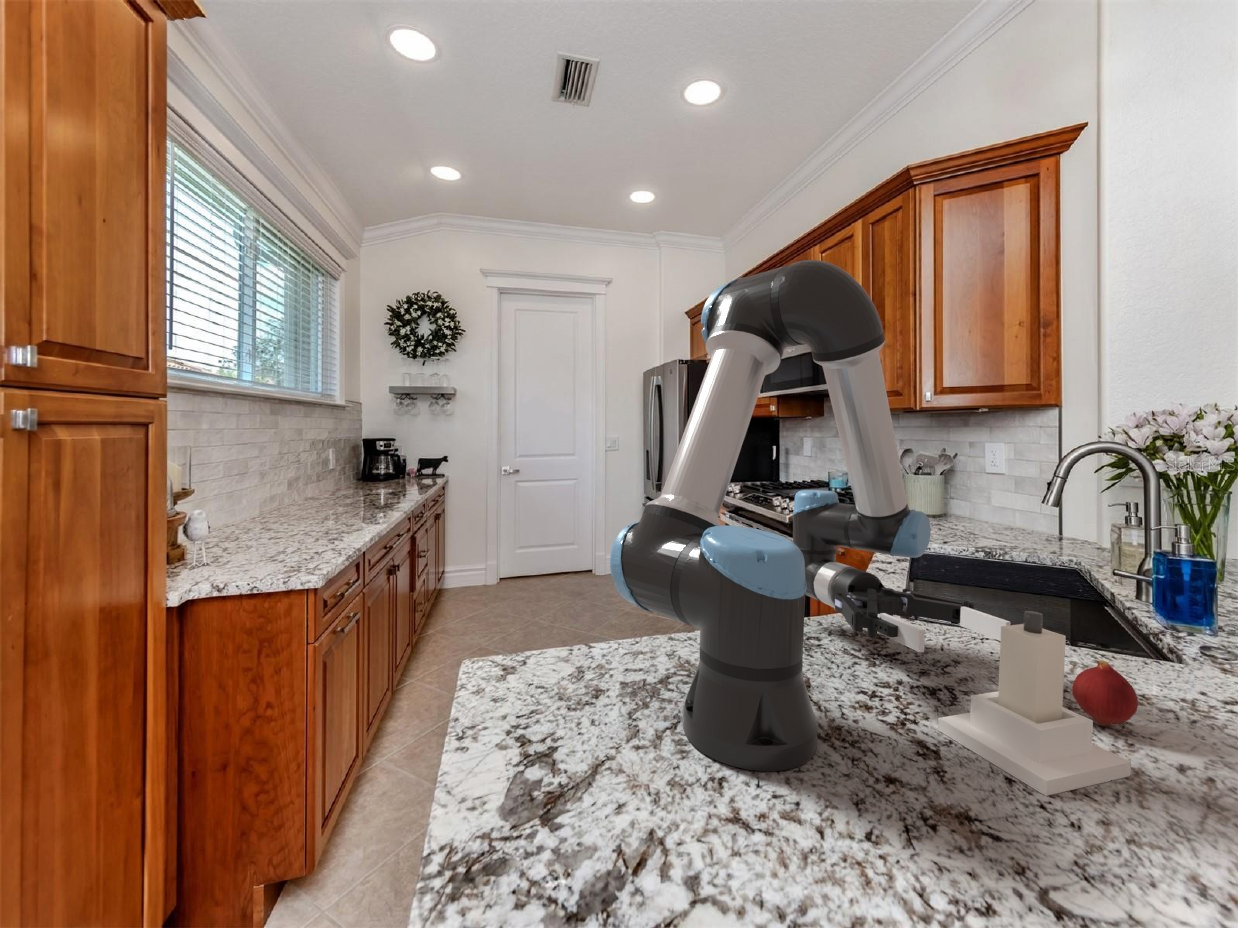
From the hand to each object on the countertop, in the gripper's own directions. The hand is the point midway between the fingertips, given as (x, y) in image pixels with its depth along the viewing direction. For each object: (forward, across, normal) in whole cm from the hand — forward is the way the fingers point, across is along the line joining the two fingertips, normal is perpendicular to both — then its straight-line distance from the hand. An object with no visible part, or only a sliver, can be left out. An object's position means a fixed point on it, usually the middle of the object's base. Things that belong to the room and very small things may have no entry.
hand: (966, 636), depth 65 cm
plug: (+8, 0, -8) cm, 12 cm away
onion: (+6, -15, -10) cm, 19 cm away
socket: (+8, 0, -10) cm, 13 cm away
